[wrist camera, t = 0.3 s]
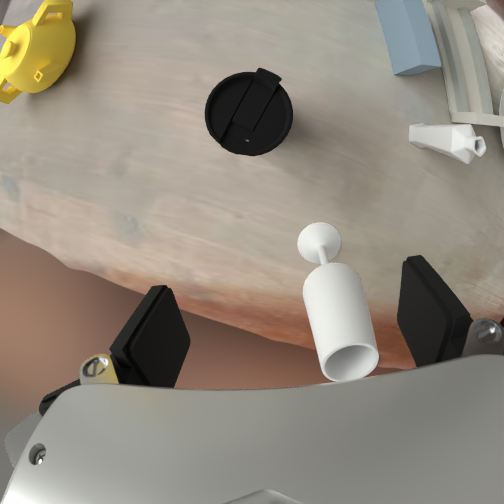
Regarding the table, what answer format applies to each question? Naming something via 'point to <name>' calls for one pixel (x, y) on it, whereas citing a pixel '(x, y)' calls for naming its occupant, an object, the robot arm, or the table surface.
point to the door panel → (408, 36)
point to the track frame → (462, 61)
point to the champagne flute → (336, 308)
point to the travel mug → (249, 112)
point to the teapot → (37, 50)
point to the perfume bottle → (448, 140)
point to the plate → (502, 112)
